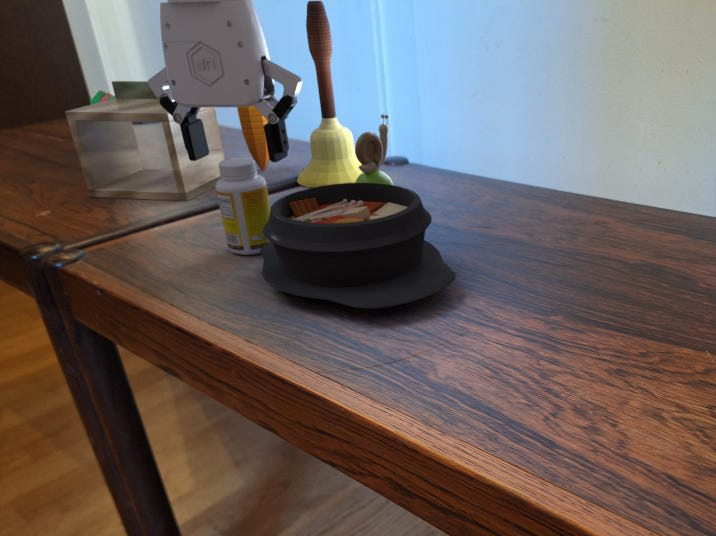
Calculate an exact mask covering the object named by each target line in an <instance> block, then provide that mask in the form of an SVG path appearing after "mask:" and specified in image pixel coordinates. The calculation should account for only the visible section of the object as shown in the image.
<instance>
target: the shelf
mask: <svg viewBox="0 0 716 536" xmlns="http://www.w3.org/2000/svg"><path fill="white" fill-rule="evenodd" d="M111 86H112V90H113V93H114V95H115V97H116V99H112V100H108V101H104V102H100V103H96V104H92V105H91V104H89V105H84V106H81V107H76V108H73V109H69V110H66V111H64V113H65V116H66V120H67V123H68V126H69V130H70V133H71V137H72V141H73V143H74V147H75V150H76V154H77V156H78V160H79V163H80V168H81V171H82V174H83V177H84V181H85V184H86V188H87V190H88V194H89V197H90V198H105V199H106V198H107V199H108V198H109V199H128V200H129V199H133V200H153V201H180V202H188V201H190V200H192V199H193V198H196V197H198V196H200V195H201V194H204V193H205V192H207V191H209V190H211V189H213V188H214V187H215V185H216V182H217V181H218V180H219V179H221V177H220V171H219V166H218V164H219V162H221V161H223V160H226V159H225V154H224V149H223V143H222V138H221V133H220V128H219V122H218V117H217V113H216V107H201V108H200V110H199V112H198V114H197V116H196V117H197V119H201V121H202V122H203V126H204V130H205V135H206V139H207V144H208V148H209V155H207V156H205V157H203V158H201V159H199V160H196V161H190V159H189V156H188V152H187V150H186V148H185V145H184V140H183V136H182V132H181V128H180V124H177V123H175V121H174V120H173V116H172V115H171V114H169V113H168V112H167V111H166V110H165V109H164V108H163V107H162V106H161V105H160V100H159V99H158V98H157V97H156V96H155V94H154V93H153V91H152V90H151V88H150V87H149V85H148V80H144V81H143V80H113V81H111ZM169 89H170V86H169ZM133 122H138V123H141V122H143V123H161V125H162V129H163V133H164V134H163V135H164V138H165V142H166V146H167V150H168V151H167V152H168V155H169V160H170V164H171V168H172V169H155V168H154V169H152V168H151V169H149V168H144V165H143V160H142V156H141V152H140V149H139V145H138V141H137V137H136V133H135V129H134V124H133Z"/></svg>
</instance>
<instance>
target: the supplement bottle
mask: <svg viewBox="0 0 716 536" xmlns="http://www.w3.org/2000/svg"><path fill="white" fill-rule="evenodd" d="M218 166H219V171H220V177H221V179H219V180H218V181H217V182H216V185H215V193H216V198H217V201H218V206H219V211H220V216H221V220H222V225H223V229H224V235H225V239H226V244H227V247H228V249H229V251H231V253H234V254H237V255H241V256H251V255H259V254H261V252H260V250H261V249H262V247H263V246H264V245H265V244H267V243H268V242H270V241H269V240H268V239H267V238H266V237H265V236H264V234H263V227H264V226H265V224H266V223H267V222H268V220H269V215H270V209H271V202H270V196H269V191H268V185H267V181H266V178H265V177H263V176H262V175H260V174H258V171H257V170H258V169H257V164H256V162H255V160H254V159H253V158H252V157H251V158H250V157H233V158H227V159H225V160H223V161H221V162H219V164H218Z"/></svg>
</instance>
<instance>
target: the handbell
mask: <svg viewBox="0 0 716 536" xmlns="http://www.w3.org/2000/svg"><path fill="white" fill-rule="evenodd" d="M305 19H306V20H305V28H306V29H305V30H306V38H307V45H308V51H309V54H310V55H311V59H312V61H313V63H314V64H313V65H314V68H315V74H316V75H315V76H316V81H317V82H316V84H317V90H318V99H319V105H320V106H319V107H320V115H321V121H320V124H319V126H318V127H316V128H314V130H312V132H311V134H310V136H309V144H310V145H309V146H310V153H311V158H310V160H309V163H308V164H307V166H306V167H305V168H304V169H303V170H302V171H301V172H300V173H299V174H298V176H297V178H296V179H297V180H296V183H298V185H301V186H302V187H306V188H314V187H319V186H325V185H333V184H343V183H355V181H356V179H357V178H358V177H359V175H360V174H362V173H363V172H362V171H361V170H360V169H359V166H360V165H362V164H361V163H360V162H359V161H358V159H357V157H356V154H355V141H354V135H353V133H352V131H351V130H350V129H349V128H347V127H346V126H342V124H341V123H340V122H339V120H338V118H337V113H336V104H335V95H334V88H333V79H332V70H331V69H332V67H331V62H332V61H331V59H332V54H333V42H332V32H331V26H330V21H329V18H328V15H327V11H326V7H325V5H324V2H323V1H322V0H308V1H307V3H306V18H305Z"/></svg>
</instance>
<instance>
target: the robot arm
mask: <svg viewBox="0 0 716 536" xmlns="http://www.w3.org/2000/svg"><path fill="white" fill-rule="evenodd" d="M159 21H160V22H159V23H160V35H161V36H160V37H161V45H162V53H163V59H164V66H165V67H163V68H162V69H161V70H160V71H158V72H157V73H156V74H154V75H152V76H151V77H150V78H149V79H147V81H148V85H149V87H150V88H151V90H152V91H153V93H154V94H155V96H156V97H157V98H158V99H159V100H160V105H161V106H162V107H163V108H164V109H165V110H166V111H167V112H168V113H169V114H171V115H172V116H173V120H174V121H175V123H177V124H180V128H181V132H182V136H183V140H184V145H185V148H186V150H187V152H188V156H189V159H190V161H196V160H199V159H201V158H203V157H205V156H207V155H209V148H208V144H207V139H206V135H205V130H204V126H203V122H202V121H201V119H197V117H196V116H197V114H198V112H199V110H200V108H201V107H215V108H237V107H248V106H252V105H254V107H255V108H256V109H257V110H258V111H259V112H260V113H261V114H262V115H263V116H264V117H265V118H266V120H267V121H268V123H267V124H265V125H264V132H265V137H266V143H267V148H268V154H269V162H272V163H278V162H280V161H281V160H283V159H286V158H287V157H288V152H289V149H290V144H289V138H288V132H287V126H286V120H287V119H288V118H289V115H290V113H291V112H292V111H293V110H294V108H295V107H296V105H297V103H298V97H299V96H300V95H299V94H300V91H301V88H302V85H303V79H302V77H301V76H299V75H297V74H296V73H293V72H292V71H290V70H288V69H286V68H284V67H283V66H281V65H279V64H277V63H275V62H273V61H272V60H271V57H270V53H269V49H268V45H267V42H266V41H267V40H266V37H265V34H264V30H263V27H262V23H261V21H260V18H259V14H258V13H257V10H256V7H255V3H254V2H253V0H167V1H165V2H160V4H159ZM275 82H277V83H279V84H280V85H282V87H283V91H282V95H281V98H279V99H277V97H276V96H275V93H276V85H275ZM169 86H170V89H169Z"/></svg>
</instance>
